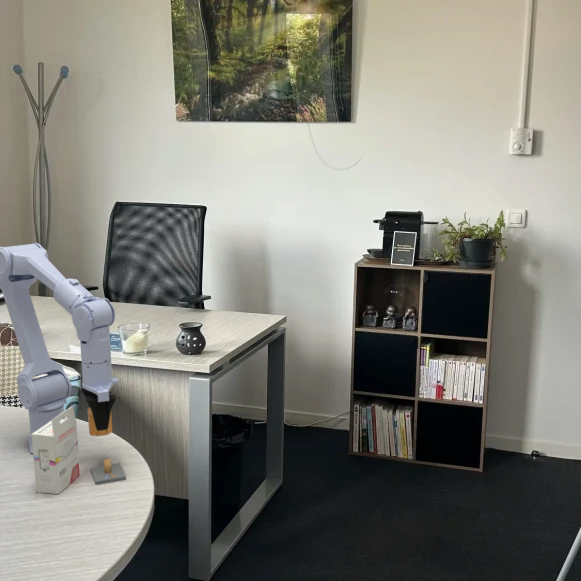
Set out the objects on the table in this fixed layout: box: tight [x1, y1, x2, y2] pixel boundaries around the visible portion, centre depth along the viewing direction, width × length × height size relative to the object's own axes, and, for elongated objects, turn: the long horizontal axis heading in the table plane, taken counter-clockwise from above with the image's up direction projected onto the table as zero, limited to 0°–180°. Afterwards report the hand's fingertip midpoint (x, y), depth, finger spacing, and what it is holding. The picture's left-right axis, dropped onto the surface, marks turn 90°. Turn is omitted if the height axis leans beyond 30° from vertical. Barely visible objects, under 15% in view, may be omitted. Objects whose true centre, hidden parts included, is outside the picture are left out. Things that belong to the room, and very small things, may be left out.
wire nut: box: [87, 406, 113, 437], centre depth 148 cm, size 5×5×5 cm
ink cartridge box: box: [30, 405, 80, 495], centre depth 140 cm, size 9×5×15 cm, turn 168°
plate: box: [90, 458, 127, 485], centre depth 145 cm, size 7×6×3 cm
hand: (100, 425), depth 148 cm, fingers closed on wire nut, 4 cm apart
